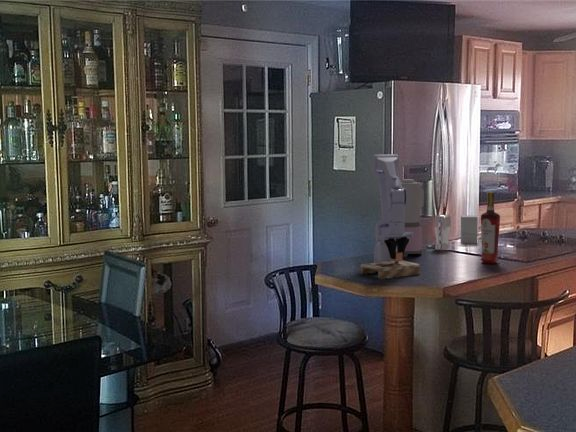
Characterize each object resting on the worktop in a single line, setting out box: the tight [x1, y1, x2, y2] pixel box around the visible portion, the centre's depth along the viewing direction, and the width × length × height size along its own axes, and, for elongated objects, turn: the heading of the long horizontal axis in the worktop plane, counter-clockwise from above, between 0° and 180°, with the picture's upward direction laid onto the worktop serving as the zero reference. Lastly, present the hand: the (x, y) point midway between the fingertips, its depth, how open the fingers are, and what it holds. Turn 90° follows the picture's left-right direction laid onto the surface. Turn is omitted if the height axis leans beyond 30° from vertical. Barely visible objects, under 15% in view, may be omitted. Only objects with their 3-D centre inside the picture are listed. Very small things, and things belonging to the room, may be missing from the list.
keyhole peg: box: [391, 251, 403, 265], centre depth 261 cm, size 4×4×8 cm
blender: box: [401, 178, 426, 258], centre depth 301 cm, size 16×12×32 cm
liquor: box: [480, 191, 501, 265], centre depth 277 cm, size 7×7×28 cm
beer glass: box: [434, 214, 452, 251], centre depth 313 cm, size 7×7×15 cm
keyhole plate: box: [360, 259, 421, 280], centre depth 260 cm, size 18×12×4 cm, turn 119°
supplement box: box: [460, 214, 479, 244], centre depth 332 cm, size 7×7×13 cm
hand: (396, 258), depth 261 cm, fingers closed on keyhole peg, 3 cm apart
